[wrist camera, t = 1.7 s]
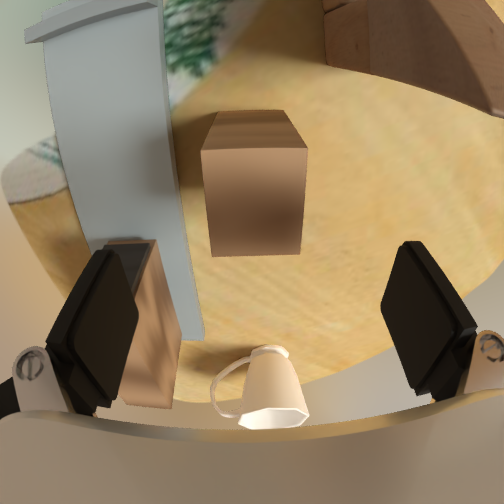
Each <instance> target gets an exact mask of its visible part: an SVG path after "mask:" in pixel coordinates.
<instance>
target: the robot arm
mask: <svg viewBox="0 0 504 504" xmlns="http://www.w3.org/2000/svg"><path fill="white" fill-rule="evenodd" d="M381 313H382V315H383V318H384V320H385V323H386V325H387V327H388V330H389V332H390V335H391V337H392V340H393V343H394V345H395V347H396V350H397V353H398V356H399V358H400V361H401V364H402V366H403V369H404V372H405V375H406V377H407V380H408V383H409V385H410V387H411V388H412V389H414V390H415V393H416V395H417V396H419V395H423V394H427V393H431V395H432V400H431V402H430V404H427V405H423V406H420V407H415V408H411V409H408V410H403V411H399V412H394V413H390V414H385V415H380V416H375V417H370V418H364V419H358V420H352V421H345V422H338V423H331V424H323V425H313V426H304V427H291V428H276V429H250V430H218V429H217V430H216V429H191V428H176V427H164V426H154V425H145V424H137V423H130V422H122V421H115V420H108V419H103V418H98V417H97V415H96V413H95V412H96V408H97V406H100V407H106V408H110V407H111V403H112V400H115V399H116V398H117V395H118V391H119V387H120V383H121V379H122V376H123V372H124V368H125V365H126V361H127V357H128V354H129V350H130V347H131V344H132V340H133V337H134V333H135V330H136V327H137V324H138V320H139V311H138V308H137V305H136V303H135V300H134V297H133V294H132V292H131V289H130V286H129V283H128V280H127V277H126V274H125V271H124V268H123V265H122V262H121V259H120V256H119V254H117V253H115V252H114V251H113V250H112V249H102V250H96V251H95V252H94V254H93V255H92V257H91V259H90V260H89V262H88V264H87V265H86V267H85V269H84V270H83V272H82V274H81V275H80V277H79V279H78V280H77V282H76V284H75V286H74V287H73V289H72V291H71V293H70V295H69V296H68V298H67V300H66V302H65V304H64V306H63V308H62V309H61V311H60V313H59V315H58V317H57V319H56V321H55V323H54V325H53V327H52V329H51V331H50V333H49V335H48V337H47V339H46V343H47V345H46V348H45V349H43V348H42V347H38V346H33V347H30V348H27V349H25V350H24V351H22V352H21V353H20V354H19V355H18V356H17V358H16V360H15V362H14V364H13V368H12V375H13V377H11V378H10V379H8V380H6V381H5V382H3V383H2V384H0V504H504V339H503V338H502V337H501V336H500V335H499V334H497V333H496V332H493V331H490V330H484V331H482V332H480V333H479V334H478V335H477V333H476V331H475V330H476V328H477V327H478V326H477V324H476V322H475V321H474V319H473V317H472V316H471V314H470V312H469V311H468V309H467V307H466V306H465V304H464V303H463V301H462V299H461V298H460V296H459V295H458V293H457V292H456V290H455V289H454V287H453V286H452V284H451V283H450V281H449V280H448V278H447V277H446V275H445V274H444V272H443V271H442V270H441V268H440V267H439V265H438V264H437V262H436V261H435V260H434V258H433V257H432V256H431V254H430V253H429V251H428V250H427V249H426V247H425V246H424V245H423V243H422V242H420V241H405V242H404V243H403V245H402V246H400V247H399V248H398V251H397V254H396V258H395V261H394V264H393V268H392V271H391V274H390V277H389V280H388V283H387V286H386V289H385V292H384V295H383V298H382V301H381Z"/></svg>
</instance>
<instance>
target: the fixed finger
mask: <svg viewBox="0 0 504 504" xmlns="http://www.w3.org/2000/svg"><path fill="white" fill-rule="evenodd" d="M102 249H112V250H113V251H114V252H115V253H117V254H119V256H120V259H121V262H122V265H123V268H124V271H125V274H126V277H127V280H128V283H129V286H130V289H131V292H132V294H133V297H134V300H135V303H136V305H137V308H138V311H139V320H138V324H137V327H136V330H135V333H134V337H133V340H132V344H131V347H130V350H129V354H128V357H127V361H126V365H125V368H124V372H123V376H122V379H121V383H120V387H119V391H118V394H119V396H120V397H121V398H122V399H123V401H124V402H125V403H126V404H127V405H134V406H142V407H153V408H163V409H172V400H173V393H174V386H175V379H176V372H177V365H178V358H179V351H180V345H181V339H182V332H181V329H180V325H179V322H178V319H177V315H176V312H175V308H174V305H173V301H172V298H171V294H170V291H169V287H168V283H167V279H166V276H165V272H164V268H163V264H162V260H161V256H160V252H159V248H158V243H157V239H152V240H128V241H108V243H107V245H104V247H103V248H102Z"/></svg>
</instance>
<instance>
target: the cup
mask: <svg viewBox="0 0 504 504" xmlns="http://www.w3.org/2000/svg"><path fill="white" fill-rule="evenodd" d="M288 356H289V352H288V351H286V350H285V349H284V348H283V347H282V346H279V345H266V344H265V345H263V346H260V347H258V348H255V349H253V350H252V352H251V355H250V356H248V357H243V358H241V359H239V360H237V361H235V362H234V363H232V364H231V365H229V366H228V367H226V368H225V369H224V370H222V371H221V372H220V373H219V374H218V375H217V376H216V377H215V378H214V379H213V381H212V384H211V387H210V397H211V401H212V405H213V407H214V408H215V409H216V410H217V411H218V412H219V413H220V414H221V415H222V416H225V417H233V418H234V417H239V420H238V424H240V425H242V426H244V427H247V428H249V429H276V428H291V427H296V426H299V425H301V424H302V423H303V422H304V421H305V420H306V419H307V418H308V416H309V413H308V409H307V406H306V403H305V400H304V397H303V394H302V390H301V387H300V384H299V380H298V377H297V375H296V372H295V370H294V368H293V366H292V363H291V361H290V360H288V359H287V358H288ZM247 362H250V365H249V368H248V372H247V375H246V379H245V383H244V388H243V395H242V402H241V408H239V409H236V410H232V411H228V412H224V411H221V410H220V409H219V408H218V407H217V405H216V400H215V388H216V386H217V383H218V382H219V381H220V380H221V379H222V378H223V377H224V376H226V375H227V374H228V373H230V372H231V371H232V370H234V369H235V368H237V367H238V366H240V365H242V364H244V363H247Z"/></svg>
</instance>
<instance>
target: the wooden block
mask: <svg viewBox="0 0 504 504" xmlns="http://www.w3.org/2000/svg"><path fill="white" fill-rule="evenodd" d="M322 4H323V9H324V11H325V12H328V13H326V14H325V15H324V32H325V49H326V62H327V64H328V65H329V66H332V67H337V68H342V69H347V70H352V71H357V72H362V73H366V74H371V75H376V76H380V77H384V78H388V79H392V80H395V81H399V82H402V83H406V84H409V85H413V86H416V87H419V88H422V89H425V90H428V91H431V92H434V93H437V94H440V95H443V96H445V97H448V98H451V99H453V100H456V101H458V102H461V103H463V104H466V105H468V106H471V107H473V108H475V109H478V110H480V111H482V112H485V113H487V114H489V115H491V116H495V117H499V118H503V119H504V24H503V22H502V21H501V20H500V18H499V17H498V16H497V15H496V13H495V12H494V11H493V10H492V8H491V7H490V6H489V5H488V4H487V2H486V1H485V0H322Z"/></svg>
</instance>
